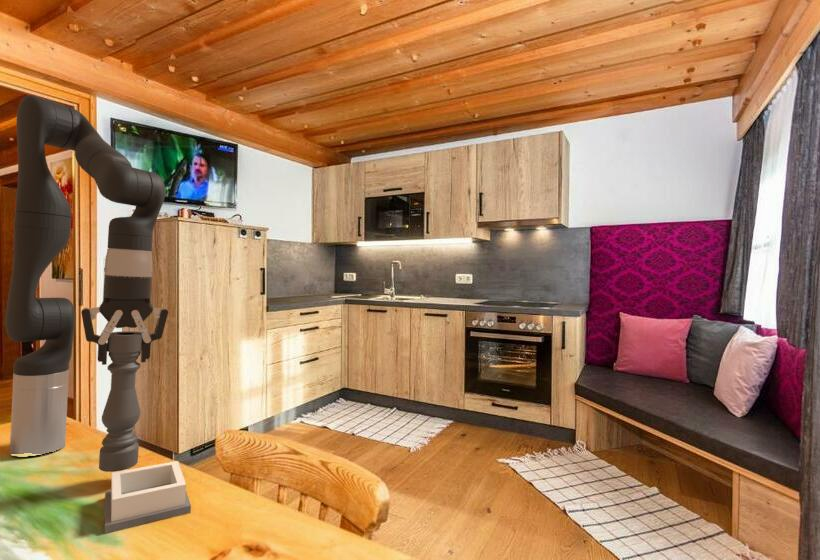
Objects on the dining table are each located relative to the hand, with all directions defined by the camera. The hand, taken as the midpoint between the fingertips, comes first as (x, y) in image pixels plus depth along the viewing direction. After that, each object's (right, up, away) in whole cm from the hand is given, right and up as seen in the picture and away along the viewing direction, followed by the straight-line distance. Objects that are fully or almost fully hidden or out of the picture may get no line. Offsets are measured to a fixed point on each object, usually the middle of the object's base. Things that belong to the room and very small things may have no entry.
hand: (123, 362), depth 81 cm
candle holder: (-1, -20, 0) cm, 20 cm away
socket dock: (+8, -24, -6) cm, 26 cm away
